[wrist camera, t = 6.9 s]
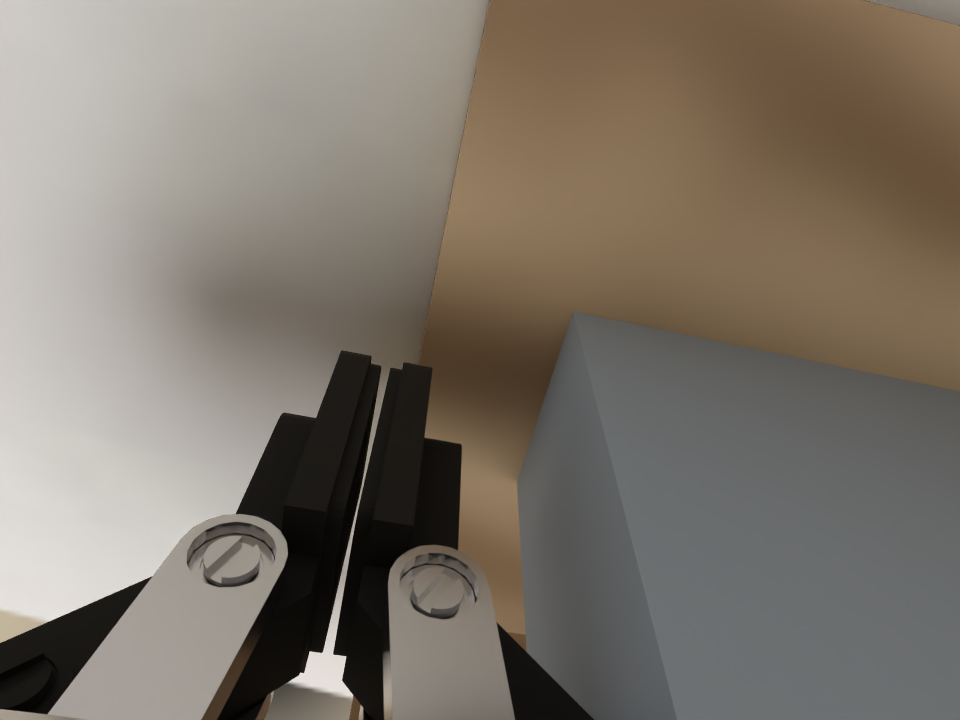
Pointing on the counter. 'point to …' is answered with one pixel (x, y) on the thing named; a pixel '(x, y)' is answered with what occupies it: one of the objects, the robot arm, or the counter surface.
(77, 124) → the counter surface
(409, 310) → the counter surface
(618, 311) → the shelf
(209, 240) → the counter surface
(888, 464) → the boxed book
